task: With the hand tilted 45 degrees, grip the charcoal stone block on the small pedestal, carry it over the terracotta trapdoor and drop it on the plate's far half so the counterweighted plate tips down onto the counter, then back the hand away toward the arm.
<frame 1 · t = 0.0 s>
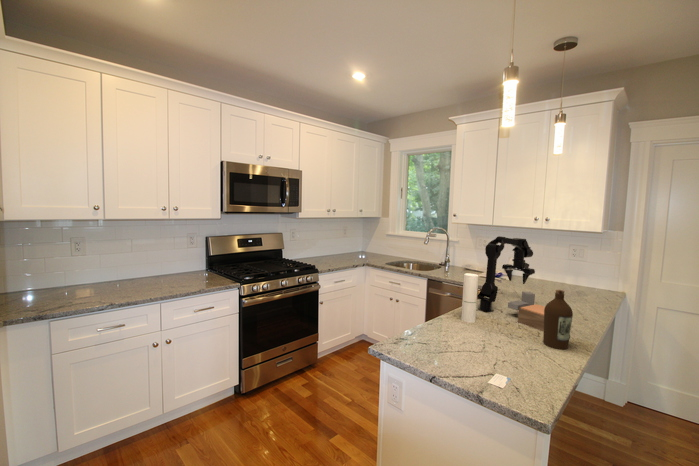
hand: (516, 282, 202), 15 cm above the worktop, tool pointing down, fingers open, 9 cm apart
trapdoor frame: (540, 324, 169), on the worktop
trapdoor: (533, 309, 173), point 6 cm above the worktop, hinge at 0.0°
stone: (527, 304, 188), point 5 cm above the worktop, touching pedestal
pedestal: (526, 312, 188), on the worktop
cylindrical container: (468, 320, 171), on the worktop
olive oil: (555, 345, 143), on the worktop
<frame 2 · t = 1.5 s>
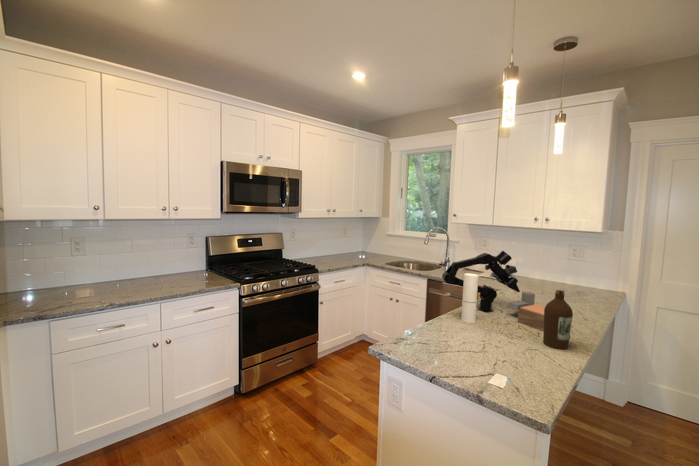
hand: (515, 289, 188), 13 cm above the worktop, tool tilted 45°, fingers open, 9 cm apart
nothing on the worktop moved.
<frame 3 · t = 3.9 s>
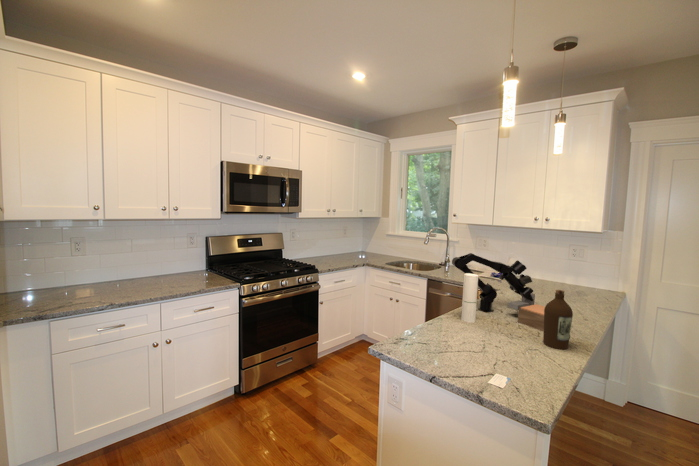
hand: (530, 299, 187), 8 cm above the worktop, tool tilted 45°, fingers closed on stone, 5 cm apart
stone: (527, 304, 188), point 5 cm above the worktop, touching gripper, pedestal
everything else where it was.
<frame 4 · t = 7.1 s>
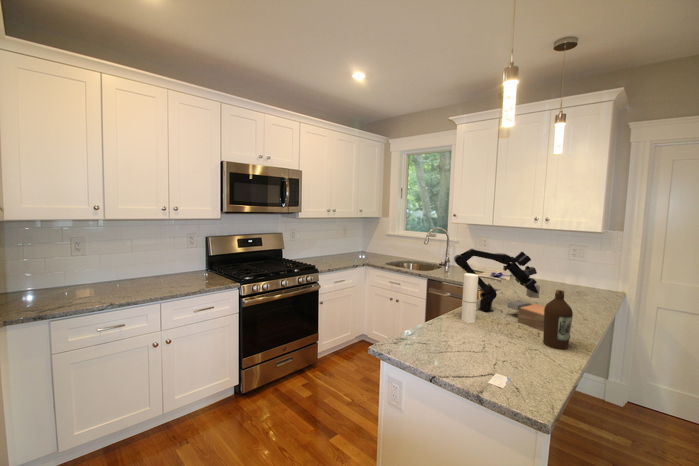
hand: (535, 291, 184), 14 cm above the worktop, tool tilted 45°, fingers closed on stone, 5 cm apart
stone: (532, 296, 184), point 11 cm above the worktop, touching gripper
everything else where it was.
when the fingers open (13 cm above the worktop, at t = 10.2 s): stone drops 6 cm, resting on trapdoor.
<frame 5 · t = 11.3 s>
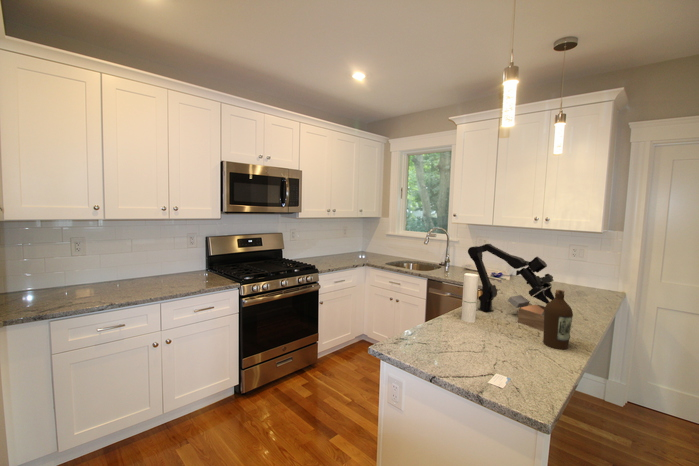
hand: (552, 302, 164), 13 cm above the worktop, tool tilted 45°, fingers open, 9 cm apart
trapdoor: (531, 311, 173), point 6 cm above the worktop, hinge at -22.1°, touching stone
stone: (546, 318, 166), point 4 cm above the worktop, tilted 22°, touching trapdoor
everything else where it was.
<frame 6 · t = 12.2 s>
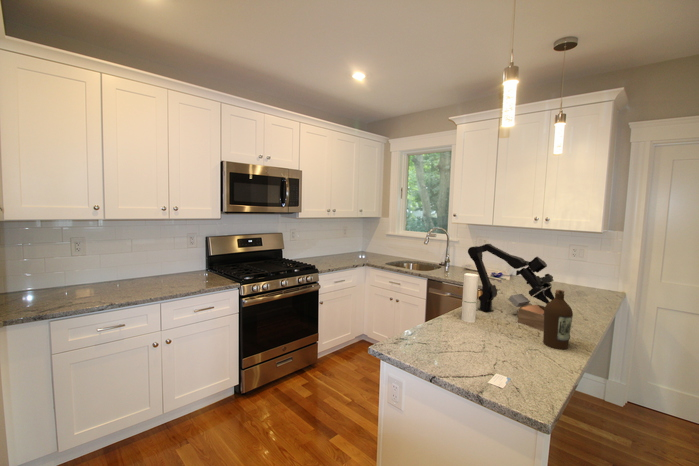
hand: (552, 302, 164), 13 cm above the worktop, tool tilted 45°, fingers open, 9 cm apart
trapdoor: (531, 311, 173), point 5 cm above the worktop, hinge at -29.0°, touching stone
stone: (545, 320, 167), point 3 cm above the worktop, tilted 29°, touching trapdoor
everything else where it was.
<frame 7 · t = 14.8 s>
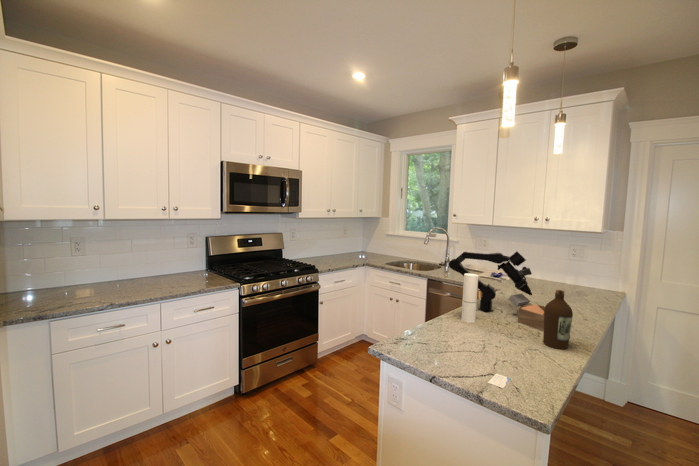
hand: (531, 293, 179), 14 cm above the worktop, tool tilted 45°, fingers open, 9 cm apart
trapdoor: (531, 311, 173), point 5 cm above the worktop, hinge at -30.3°, touching stone
everything else where it was.
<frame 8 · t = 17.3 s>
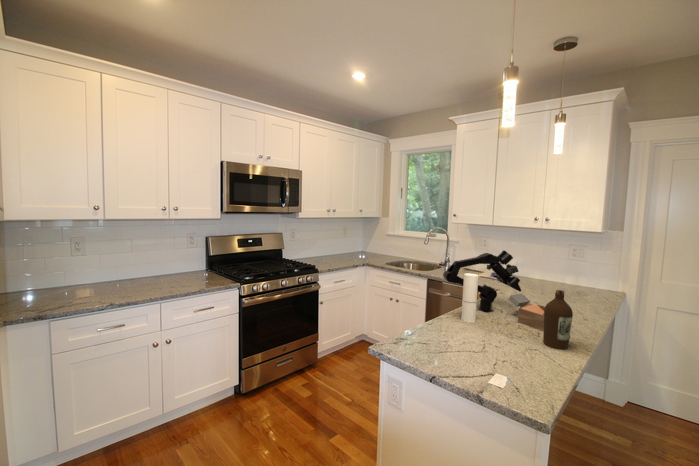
hand: (516, 289, 188), 14 cm above the worktop, tool tilted 45°, fingers open, 9 cm apart
nothing on the worktop moved.
at the end: stone point 2.6 cm above the worktop; stone inside the target area on the trapdoor (0.9 cm from its centre), point 5.1 cm above the trapdoor's base; the gripper is holding nothing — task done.
